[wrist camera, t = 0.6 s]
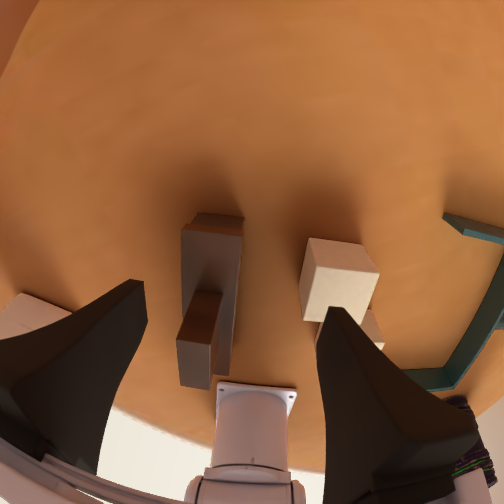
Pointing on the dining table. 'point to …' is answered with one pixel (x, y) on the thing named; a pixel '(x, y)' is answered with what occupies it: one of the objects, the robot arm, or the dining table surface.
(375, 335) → the beige cube
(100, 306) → the robot arm
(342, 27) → the dining table surface
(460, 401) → the storage jar
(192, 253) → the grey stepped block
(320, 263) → the cream white cube
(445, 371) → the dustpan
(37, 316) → the photo printer
